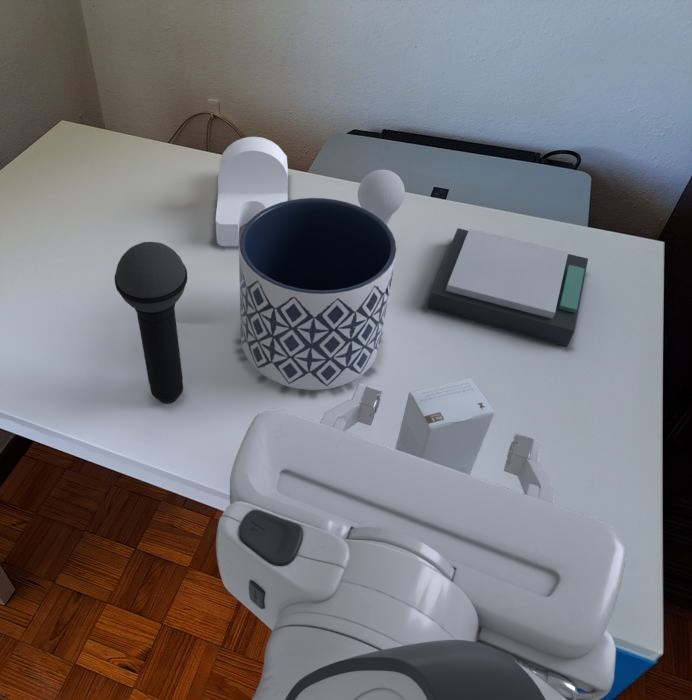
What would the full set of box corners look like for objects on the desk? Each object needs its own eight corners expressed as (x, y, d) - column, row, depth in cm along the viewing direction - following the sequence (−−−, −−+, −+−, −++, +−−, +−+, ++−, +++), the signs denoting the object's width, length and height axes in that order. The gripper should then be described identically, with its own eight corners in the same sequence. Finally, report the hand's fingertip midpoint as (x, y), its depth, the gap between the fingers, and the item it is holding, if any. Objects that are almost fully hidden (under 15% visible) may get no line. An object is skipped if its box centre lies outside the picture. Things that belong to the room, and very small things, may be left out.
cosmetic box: (444, 453, 68) (472, 372, 59) (466, 491, 65) (499, 411, 56) (387, 467, 67) (406, 387, 58) (406, 506, 64) (430, 427, 55)
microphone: (152, 367, 77) (129, 221, 63) (207, 381, 76) (195, 234, 61) (127, 411, 73) (96, 264, 59) (184, 426, 71) (166, 279, 57)
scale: (581, 273, 86) (591, 251, 84) (567, 346, 78) (577, 324, 75) (453, 243, 91) (459, 221, 89) (427, 308, 83) (432, 286, 80)
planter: (387, 393, 74) (409, 293, 63) (240, 393, 74) (237, 294, 64) (369, 295, 85) (385, 195, 74) (241, 296, 85) (239, 198, 75)
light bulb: (372, 219, 96) (381, 155, 88) (405, 238, 92) (418, 173, 85) (343, 236, 93) (350, 172, 86) (376, 257, 90) (386, 191, 83)
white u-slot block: (216, 246, 93) (212, 180, 85) (223, 173, 105) (220, 111, 98) (287, 246, 92) (289, 180, 85) (286, 173, 104) (288, 110, 97)
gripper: (639, 700, 27) (655, 444, 36) (188, 512, 34) (292, 333, 42) (584, 744, 32) (610, 507, 40) (196, 570, 38) (289, 398, 47)
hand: (444, 417), depth 42 cm, fingers open, 8 cm apart
